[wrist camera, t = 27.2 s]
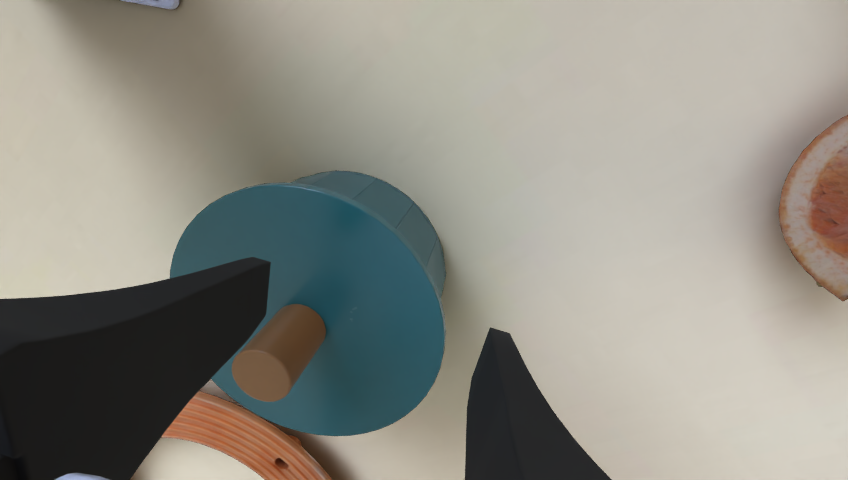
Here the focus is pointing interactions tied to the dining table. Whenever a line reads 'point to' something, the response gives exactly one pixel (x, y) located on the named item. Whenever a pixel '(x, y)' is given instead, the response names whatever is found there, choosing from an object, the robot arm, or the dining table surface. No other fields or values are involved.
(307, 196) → the lid
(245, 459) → the ring
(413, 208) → the tin
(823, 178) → the fruit slice
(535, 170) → the dining table surface
